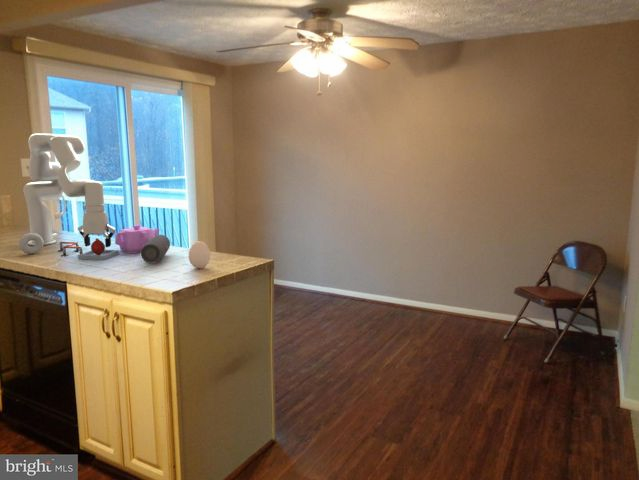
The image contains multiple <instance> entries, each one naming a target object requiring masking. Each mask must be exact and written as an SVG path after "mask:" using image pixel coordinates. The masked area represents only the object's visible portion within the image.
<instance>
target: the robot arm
mask: <svg viewBox="0 0 639 480" xmlns="http://www.w3.org/2000/svg"><path fill="white" fill-rule="evenodd" d="M28 148H29V151H30V156H29V157H30V158H29V166H28V167H29V168H28V177H29V178H30V180H32V181H33V182H28V183H26V184H24V186H23V189H22V190H23V194H24V198H25V199H24V200H25V202H26V207H27V213H28V214H27V215H28V223H29V231H30V232H29V233H36V234H38V235H40V236H41V237H42V239H43V242H44V243H43V246H46V245H47V246H48V245H54V244H56V243H57V240H56V239H54V238H56V237H57V236H58V234H57V233H56V232H54V233H53V230H52V229H53V228H52V222H51V221H52V220H51V219H52V218H51V212H50V211H51V210H50V207H49V206H48V205H47V204H46V203H45V201H51V200H52V201H53V200H54V201H55V200H59V199H61V198H62V196H63V193H64V195H66V197H69V198H83V197H84V203H85V205H84V206H83V207H82V208H83V210H85V211H84V213H83V217H82V225H80V226H78V227H77V230H78V231H79V234H80V236H82V238H83V241H84V246H85V247H89V246H91V239H90V238H91V237H90V235H95V236H96V235H99V236H102V235H103V236H104V237H105V238H104V245H105V248H109V247H111V245H112V239H111V238H112V237H113V236H114V235H115V233H116V228H115V227H114V226H112V225H110V224H109V219H108V215H107V212H106V210H105V199H104V186H103V182H101V181H98V180H93V179H74V180H73V179H72V180H71V179H70V177H69V176H68V174H69V173H70V172H73V171H75V170H77V169H78V168H79V167H80V165H81V160H80V158H79V156H78V155H81V154H82V153H83V152H84V151H85V143H84V141H83V139H81V138H80V137H78V136H77V135H70V134H57V133H33V134H31V135H30V136H29V138H28ZM50 153H53V154H54V157H55V158H56V160H57V162H56V161H51V158H52V157H51V154H50ZM34 245H35V241H34V240H30V241H29V242H28V246H34Z"/></svg>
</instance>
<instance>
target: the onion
mask: <svg viewBox="0 0 639 480" xmlns="http://www.w3.org/2000/svg"><path fill="white" fill-rule="evenodd" d="M91 250H92V252H93V253H95V254H96V255H101V254H102V253H103V252H104V250H106V246H105V242H103V241H102V240H100V239H99V238H95V240H94V241H93V242H92V243H91V244H90V251H91Z"/></svg>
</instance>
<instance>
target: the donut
mask: <svg viewBox="0 0 639 480" xmlns="http://www.w3.org/2000/svg"><path fill="white" fill-rule="evenodd" d="M31 240H34V241H35V245H32V246H30V245H29V244H28V242H29V241H31ZM43 243H44V242H43V239H42V237H41V236H40V235H38V234H36V233H30V232H29V233H26V234H24V235H22V236H21V237H20V238H19V243H18V246H19V248H20V250H21V251H22V252H23V253H25V254H28V255H34V254H37V253H39V252H41V250H42V249H43V247H44V245H43Z"/></svg>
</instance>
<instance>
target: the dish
mask: <svg viewBox="0 0 639 480" xmlns="http://www.w3.org/2000/svg"><path fill="white" fill-rule="evenodd" d="M119 254H120V251H119V249H105V250H104V252H103V253H102V254H101V255H96V254H95V253H93V252H92V250H91V249H90V250H89V251H85V252H83V254H80V253H79V254H77V258H78V260H86V259H88V260H93V261H106V260H108V259H110V258H113V257H115V256H118V255H119ZM88 260H87V261H88Z"/></svg>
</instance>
